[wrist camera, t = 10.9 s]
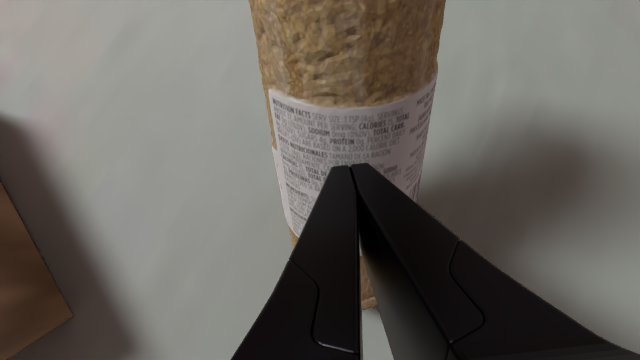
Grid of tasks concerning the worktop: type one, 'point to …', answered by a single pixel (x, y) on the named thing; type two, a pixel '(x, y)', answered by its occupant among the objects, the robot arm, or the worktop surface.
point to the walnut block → (24, 286)
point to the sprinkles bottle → (346, 93)
